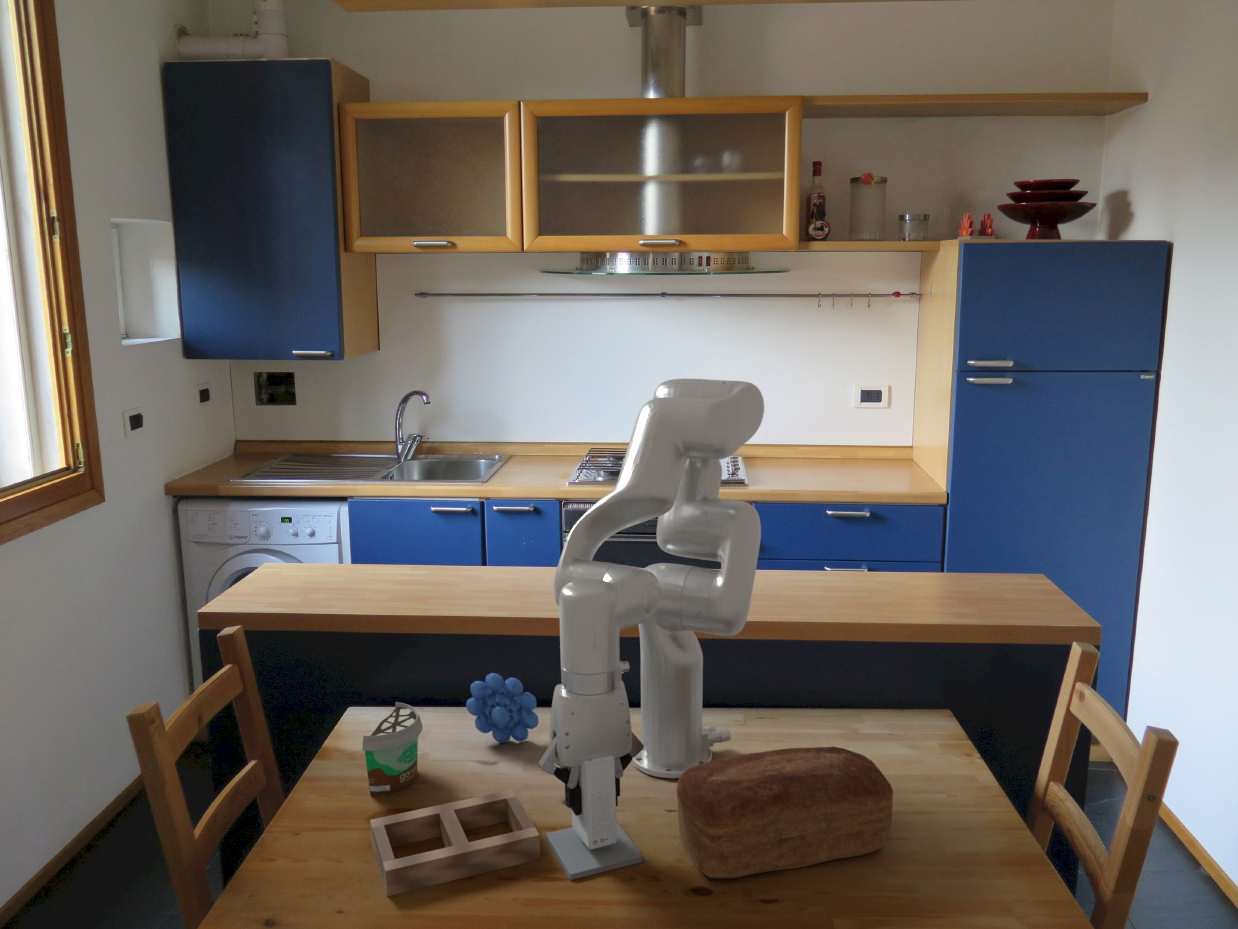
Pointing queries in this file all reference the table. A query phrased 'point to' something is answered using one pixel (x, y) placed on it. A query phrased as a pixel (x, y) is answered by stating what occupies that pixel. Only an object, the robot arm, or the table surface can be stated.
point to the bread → (782, 810)
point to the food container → (393, 751)
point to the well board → (453, 841)
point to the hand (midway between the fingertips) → (592, 804)
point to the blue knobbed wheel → (502, 708)
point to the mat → (591, 853)
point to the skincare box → (597, 803)
